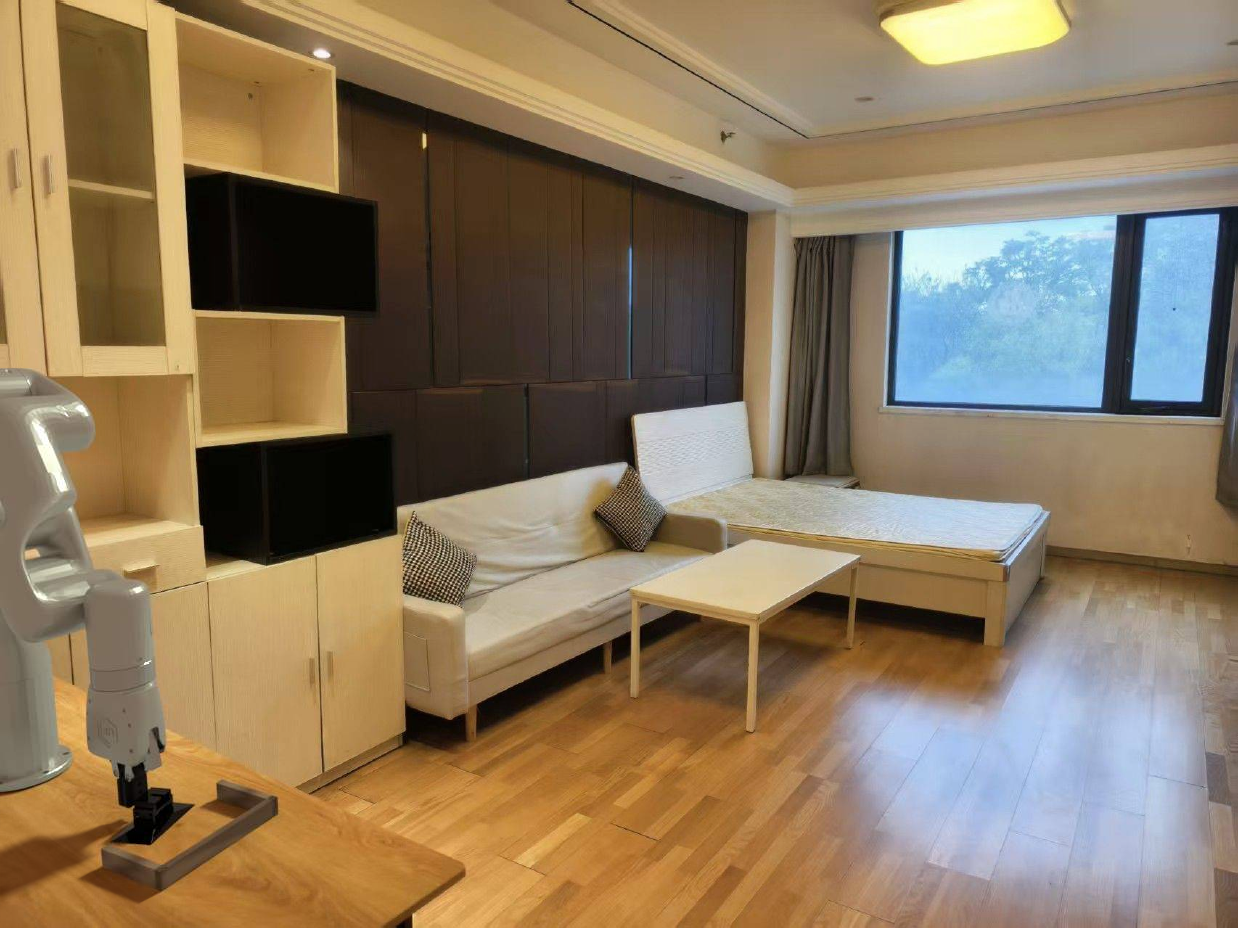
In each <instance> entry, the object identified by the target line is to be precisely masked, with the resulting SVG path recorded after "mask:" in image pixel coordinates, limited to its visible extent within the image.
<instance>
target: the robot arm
mask: <svg viewBox="0 0 1238 928" xmlns="http://www.w3.org/2000/svg"><path fill="white" fill-rule="evenodd" d="M95 436H96V423H95V420H94V417H93V415H92V413H91V411H90V410H89V408H88V406H87V405H86V404H85V403H84V401H82V399H81V398H80V397H78V395H76V394H75V393H73V392H72V391H70V390H69V389H68V388H66V387H64V386H62V385H61V384H60V383H58V382H56V381H55V380H53V379H51V378H50V377H48V376H46V375H44V374H42V373H41V372H38V371H37V370H34V369H30V368H21V367H20V368H19V367H8V368H6V367H3V368H1V367H0V793H7V792H12V791H17V790H21V789H27V788H30V787H34V786H37V785H39V784H42V783H45V782H47V781H49V780H52V779H53V778H55V777H57V776H58V775H60V774H62V773H63V772H65V771H66V770H67V768H68V767H70V765H71V764H72V763H73V762H72V761H73V757H74V756H73V751H72V750H71V748H69V747H68V746H66V745H62V744H60V742H59V731H58V730H59V729H58V720H57V719H58V718H57V717H58V716H57V706H56V695H55V687H54V686H55V685H54V674H53V665H52V664H53V663H52V657H51V652H50V649H49V647H48V646H47V644H46V643H45V642H47V641H51V640H54V639H56V638H61V637H64V636H67V635H70V634H73V633H76V632H79V631H84V630H85V634H86V647H87V657H88V659H87V660H88V661H87V662H88V669H89V670H88V671H89V680H90V683H89V685H88V689H87V693H86V704H85V705H86V706H85V707H86V708H85V722H86V723H85V725H86V727H85V730H86V744H87V746H86V747H87V750H88V752H90V754H92V755H94V756H95V757H99V758H102V759H105V760H108V761H109V762H110V763H111V769H112V774H113V776H114V777H115V778H116V785H117V786H116V788H117V789H116V790H117V798H118V800H117V801H118V806H121V807H124V808H126V809H130V808H132V807H134V801H135V800H136V799H137V798H139V797H140V796H141V795H142V794H143V793H145V792H146V791H147V790H148V789H149V784H148V774H147V773H149V772H150V771H151V772H152V771H155V770H156V769H158V768H161V767H162V765H163V763H162V761H163V760H162V758H161V754H163V753H164V752H165V751H166V747H167V731H166V730H167V729H166V721H165V720H166V719H165V714H164V710H163V709H164V708H163V707H164V706H163V703H162V698H161V693H160V689H159V685H158V682H156V681H157V668H156V655H155V643H154V629H153V628H154V627H153V616H152V613H153V612H152V602H151V601H152V600H151V592H150V588H149V586H148V585H147V583H145V582H143V581H142V580H139V579H130V578H125V577H124V576H123V575H121V574H120V573H118V572H117V571H115V570H112V569H108V568H97V569H95V568H94V564H93V561H92V559H91V555H90V552H89V549H88V546H87V542H86V539H85V536H84V533H83V530H82V527H81V523H80V521H79V517H78V515H77V512H76V508H75V507H74V505H75V503H76V502H77V499H78V493H77V489H76V486H75V484H74V483H73V480H72V477H71V475H70V473H69V471H68V467H67V466H66V463H65V461H64V458H63V455H62V454H67V453H75V452H80V451H83V450H86V449H87V448H89V446H91V445H92V443H93V442H94V439H95ZM31 550H36V551H37V553H38V555H39V556H38V557H33V558H29V559H26V552H27V551H31Z"/></svg>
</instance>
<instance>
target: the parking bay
mask: <svg viewBox="0 0 1238 928" xmlns="http://www.w3.org/2000/svg"><path fill="white" fill-rule="evenodd" d="M215 785H216V800H218V801H222V802H225V803H227V804H231V805H234V806H237V807H240V808H243V809H246V811H245V812H243V813H242V814H240V815H239V816H237V817H236V818H234V819H232V820H231V821H229V822H227V823H226V824H224V825H222V826H221V827H219V828H218V829H216V830H215V831H213V832H212V833H210V834H209V835H207V836H205V837H204V838H203V839H201V840H199V841H197V842H196V843H195V844H194V843H193V844H192V845H191V846H190V847H188V848H186V849H184V851H183V850H182V852H180V853H178V854H177V855H175V856H174V857H172V858H170V859H169V860H167V861H166V862H164V863H163V864H161V863H158V862H155V861H153V860H150V859H148V858H145V857H143V856H140V855H138V854H135V853H132V852H130V851H127V850H125V849H123V848H119V847H116V846H114V845H112V844H107V845H105V846H103V847H101V848H100V852H101V853H100V854H101V864H102V865H101V866H102V868H103V869H106V870H108V871H112V872H113V873H116V874H119V875H121V876H124V877H126V878H128V879H131V880H133V881H136V882H138V883H141V884H143V885H145V886H148V887H150V888H153V889H156V890H158V891H161V892H163V891H164V890H166V889H167V888H168V887H170V886H172V885H173V884H175V883H176V882H178V881H179V880H181V879H182V878H184V877H185V876H187V875H188V874H190V873H191V872H193V871H194V870H196V869H198V868H199V867H200V866H202V865H203V864H205V863H206V862H209V861H210V860H211V859H214V857H216V856H217V855H219V854H220V853H221V852H223V851H224V850H226V849H227V848H230V846H232V845H233V844H235V843H236V842H238V841H240V840H241V839H243V838H244V837H246V836H247V835H248V834H250V833H252V832H253V831H255V830H257V829H258V828H260V827H261V826H262V825H264V824H265V823H267V822H268V821H269V820H271V819H273V818H274V817H276V816H277V815H279V799H278V796H276V795H273V794H269V793H267V792H262V791H260V790H257V789H254V788H250V787H247V786H244V785H241V784H237V783H235V782H231V781H228V780H225V779H220V780H219V781H217V782H216V783H215Z"/></svg>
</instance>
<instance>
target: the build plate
mask: <svg viewBox="0 0 1238 928" xmlns="http://www.w3.org/2000/svg"><path fill="white" fill-rule="evenodd" d="M195 806H196V804H195V803H187V802H175V801H174V795H173V793H172V789H171V788H169V787H168V788H166V787H155V786H153V787H152V786H151V787H149V788H148V790H147V791H146V792H145V793H143V794H142V795H141V796H140V797H139V798H137V799H136V800H135V801H134V806H133V808H132V819H133V821H132V822H131V823H130V824H128V826H127V827H125V829H123V830H122V831H121V832H119V834H117V835H116V836H115V837H113V839H112V840H110V841H109V842H110V843H114V844H115V843H116V844H129V845H138V846H139V845H140V846H152V845H153V844H154V843H155V842H156V841H157V840H158V839H159V838H161V836H163V835H164V834H165V833H166V832H167V831H168V830H170V828H172V827H173V826H174V825H175V824H176V823H177V822H178V821H179V820H180V819H182V818H183V817H184V816H185V815H186V814H187V813H188V812H189V811H191V809H192V808H193V807H195Z"/></svg>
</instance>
